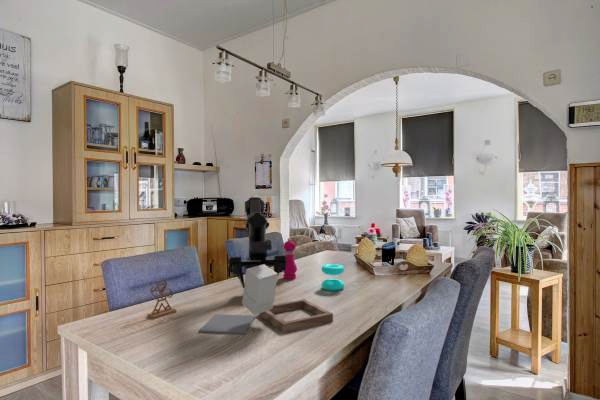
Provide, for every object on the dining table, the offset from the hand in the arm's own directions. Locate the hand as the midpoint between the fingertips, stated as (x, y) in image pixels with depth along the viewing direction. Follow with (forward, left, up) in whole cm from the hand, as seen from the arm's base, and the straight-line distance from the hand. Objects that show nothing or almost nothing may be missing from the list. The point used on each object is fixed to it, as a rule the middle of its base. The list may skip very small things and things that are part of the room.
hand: (258, 286), depth 108 cm
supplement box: (-1, +1, -7) cm, 7 cm away
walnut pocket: (+7, +11, -12) cm, 18 cm away
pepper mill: (-21, +59, -12) cm, 63 cm away
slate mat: (-9, -4, -12) cm, 16 cm away
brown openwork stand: (-36, -6, -12) cm, 38 cm away
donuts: (+5, +51, -12) cm, 52 cm away
